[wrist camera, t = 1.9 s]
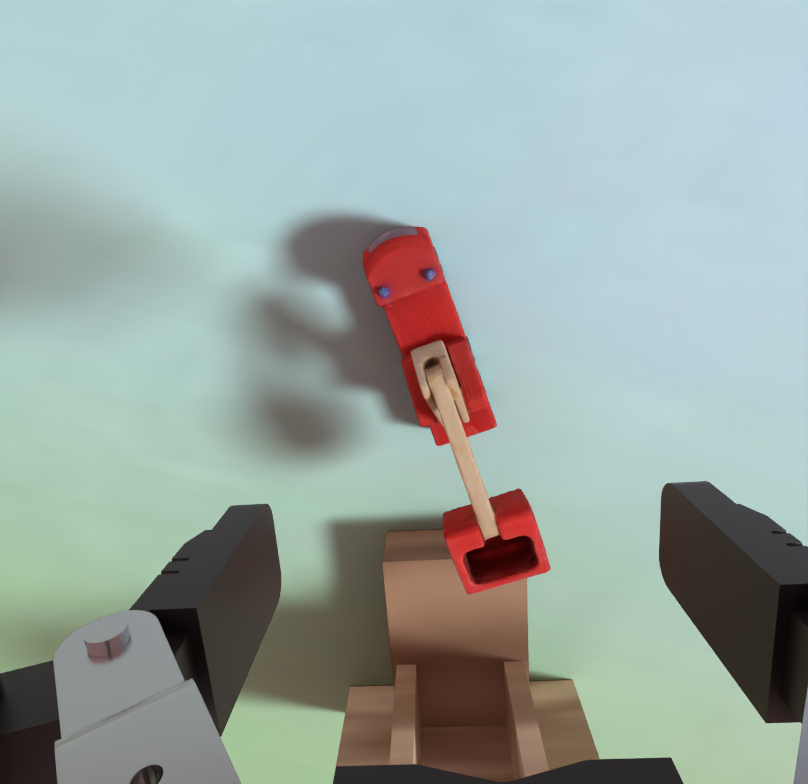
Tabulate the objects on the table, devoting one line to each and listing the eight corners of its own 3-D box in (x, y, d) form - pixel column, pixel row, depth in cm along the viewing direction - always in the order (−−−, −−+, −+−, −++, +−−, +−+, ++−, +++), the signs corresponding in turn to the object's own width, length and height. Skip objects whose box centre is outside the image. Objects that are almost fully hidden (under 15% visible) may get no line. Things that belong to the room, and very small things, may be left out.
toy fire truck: (426, 218, 26) (426, 201, 16) (515, 475, 29) (557, 583, 19) (360, 244, 26) (323, 242, 17) (454, 494, 29) (468, 609, 20)
